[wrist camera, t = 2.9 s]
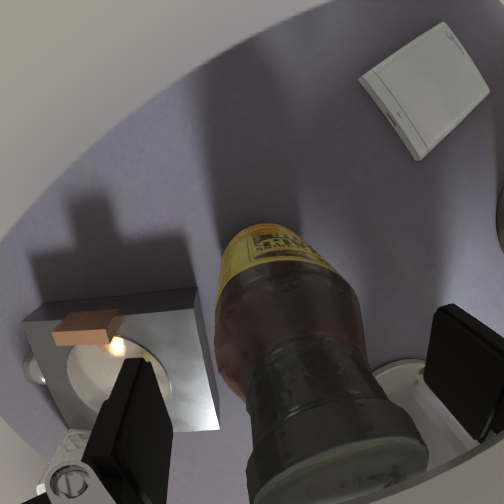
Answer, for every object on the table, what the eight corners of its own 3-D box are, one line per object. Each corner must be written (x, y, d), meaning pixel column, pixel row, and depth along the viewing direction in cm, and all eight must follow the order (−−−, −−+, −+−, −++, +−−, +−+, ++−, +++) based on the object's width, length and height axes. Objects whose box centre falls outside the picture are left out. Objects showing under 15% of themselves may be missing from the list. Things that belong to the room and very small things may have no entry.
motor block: (196, 280, 24) (187, 322, 17) (220, 403, 27) (221, 459, 20) (20, 299, 23) (-23, 333, 16) (63, 405, 26) (38, 450, 19)
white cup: (53, 419, 27) (20, 482, 17) (105, 408, 26) (76, 483, 17) (94, 464, 29) (74, 527, 19) (146, 457, 28) (133, 529, 19)
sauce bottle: (319, 248, 24) (516, 425, 5) (272, 313, 25) (359, 555, 6) (247, 200, 23) (367, 337, 4) (201, 271, 24) (160, 532, 5)
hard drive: (444, 20, 19) (362, 75, 20) (491, 92, 21) (423, 161, 22) (435, 25, 21) (354, 80, 22) (481, 94, 23) (412, 161, 24)
